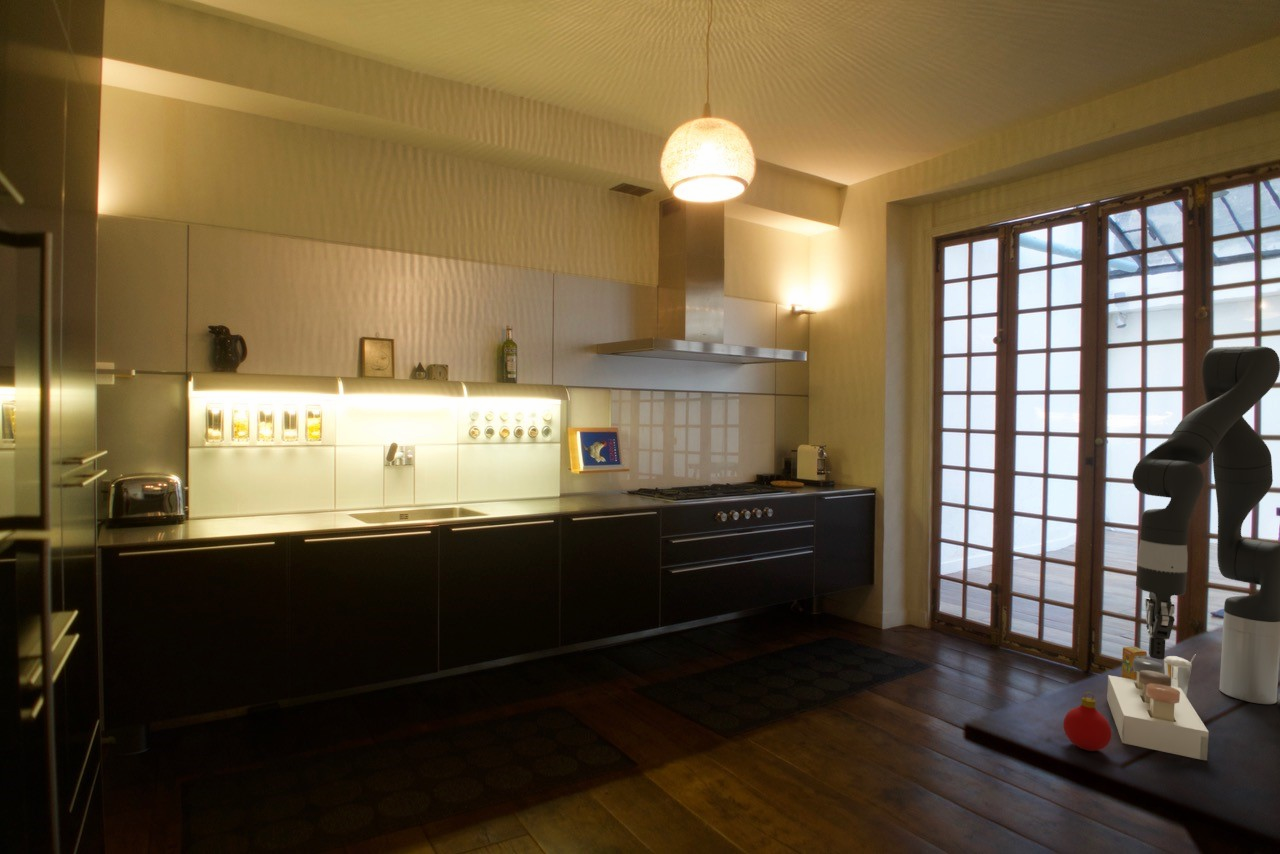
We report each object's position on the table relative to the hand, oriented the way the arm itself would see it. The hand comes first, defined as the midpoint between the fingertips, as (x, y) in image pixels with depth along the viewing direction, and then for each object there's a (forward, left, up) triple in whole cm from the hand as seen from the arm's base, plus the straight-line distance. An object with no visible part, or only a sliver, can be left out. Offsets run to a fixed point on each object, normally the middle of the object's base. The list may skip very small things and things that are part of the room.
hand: (1156, 657), depth 132 cm
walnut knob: (0, 0, -10) cm, 10 cm away
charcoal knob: (-8, 0, -10) cm, 12 cm away
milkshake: (-18, +7, -14) cm, 24 cm away
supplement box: (-16, -1, -14) cm, 21 cm away
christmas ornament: (+17, -12, -14) cm, 25 cm away
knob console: (0, 0, -13) cm, 13 cm away
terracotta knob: (+7, 0, -10) cm, 12 cm away
